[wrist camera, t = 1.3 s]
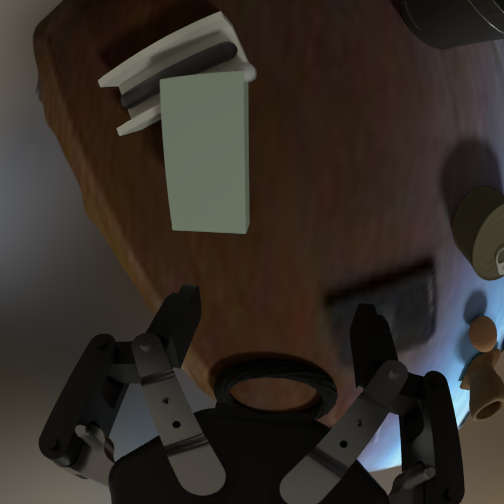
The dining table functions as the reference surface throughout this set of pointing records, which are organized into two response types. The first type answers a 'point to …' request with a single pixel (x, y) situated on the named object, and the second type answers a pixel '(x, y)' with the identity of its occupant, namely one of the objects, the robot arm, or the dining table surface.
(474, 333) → the egg
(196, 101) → the cover
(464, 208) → the can
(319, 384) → the cable lock
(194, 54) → the curved white channel
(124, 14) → the dining table surface
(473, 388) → the brown boot
